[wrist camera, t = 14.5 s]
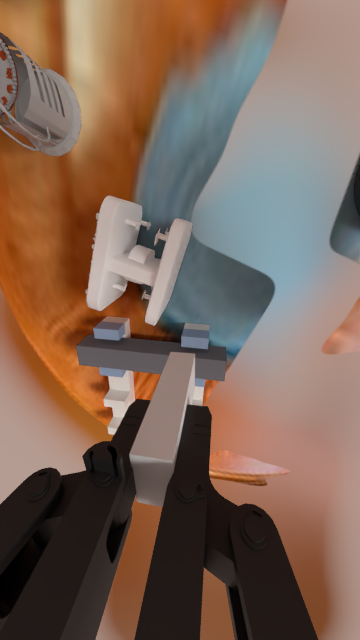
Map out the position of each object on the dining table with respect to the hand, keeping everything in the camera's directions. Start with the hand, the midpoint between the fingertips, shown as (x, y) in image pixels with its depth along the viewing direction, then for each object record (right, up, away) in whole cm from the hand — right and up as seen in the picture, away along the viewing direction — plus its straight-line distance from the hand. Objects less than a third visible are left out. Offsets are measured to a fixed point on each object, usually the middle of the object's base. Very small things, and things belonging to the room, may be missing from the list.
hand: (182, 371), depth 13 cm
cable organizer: (-5, +14, +24) cm, 28 cm away
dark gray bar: (-5, -2, +28) cm, 28 cm away
